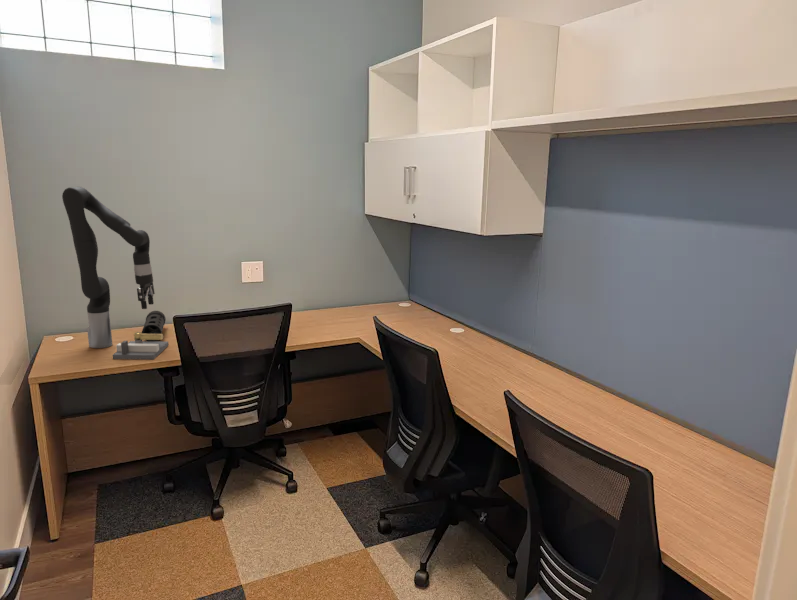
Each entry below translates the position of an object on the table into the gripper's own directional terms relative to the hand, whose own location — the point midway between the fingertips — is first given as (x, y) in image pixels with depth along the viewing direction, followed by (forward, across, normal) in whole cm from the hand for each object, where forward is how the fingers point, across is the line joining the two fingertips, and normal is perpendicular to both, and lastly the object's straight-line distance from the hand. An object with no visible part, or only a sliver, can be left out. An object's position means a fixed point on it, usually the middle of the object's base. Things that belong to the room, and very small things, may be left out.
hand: (147, 306), depth 268 cm
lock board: (+20, +8, -2) cm, 22 cm away
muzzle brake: (+20, -17, -5) cm, 27 cm away
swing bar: (+14, +6, +1) cm, 16 cm away
